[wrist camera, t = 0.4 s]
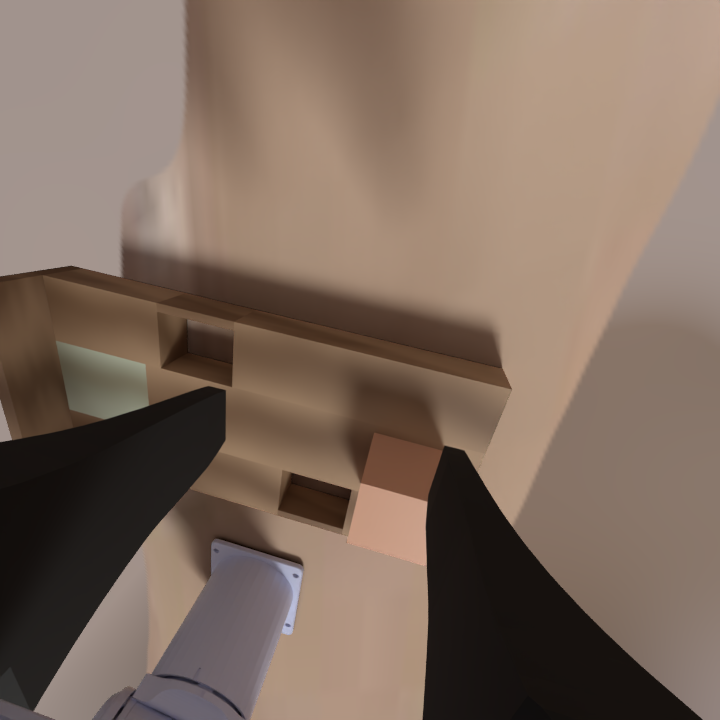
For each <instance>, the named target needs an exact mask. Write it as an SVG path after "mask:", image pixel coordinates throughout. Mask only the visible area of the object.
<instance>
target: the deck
mask: <svg viewBox="0 0 720 720" xmlns="http://www.w3.org/2000/svg"><path fill="white" fill-rule="evenodd" d="M187 319H189V320H193V321H197V322H201V323H205V324H209V325H213V326H217V327H221V328H225V329H229V330H233V331H234V341H233V364H229V363H226V362H222V361H218V360H214V359H210V358H206V357H202V356H198V355H194V354H191V353H188V345H187ZM206 386H211V387H215V388H219V389H223V390H226V441H225V442H224V444H223V445H222V447H221V449H220V450H219V452H218V453H217V455H216V456H215V458H214V459H213V461H212V462H211V463H210V465H209V466H208V467H207V469H206V470H205V471H204V472H203V473H202V474H201V476H200V477H199V478H198V479H197V480H196V481H195V483H194V484H193V485H192V486H191V487H190V488H189V489H191V490H194V491H197V492H201V493H204V494H208V495H211V496H214V497H218V498H221V499H224V500H228V501H231V502H234V503H238V504H241V505H244V506H248V507H251V508H254V509H258V510H261V511H264V512H268V513H271V514H275V515H278V516H281V517H285V518H288V519H291V520H295V521H298V522H301V523H305V524H308V525H311V526H315V527H318V528H321V529H325V530H328V531H331V532H335V533H338V534H341V535H345V536H348V535H349V531H350V526H351V522H352V518H353V514H354V510H355V505H356V501H357V497H358V493H359V489H360V484H361V481H362V477H363V473H364V469H365V465H366V462H367V458H368V454H369V450H370V446H371V442H372V439H373V435H374V433H378V434H382V435H386V436H389V437H393V438H397V439H401V440H404V441H408V442H412V443H416V444H420V445H423V446H427V447H431V448H435V449H438V450H442V451H443V448H444V445H445V446H449V447H453V448H457V449H461V450H465V452H466V454H467V455H468V457H469V459H470V460H471V462H472V464H473V466H474V467H475V469H476V471H477V472H478V470H479V468H480V465H481V463H482V460H483V458H484V456H485V453H486V451H487V448H488V446H489V444H490V441H491V439H492V436H493V434H494V432H495V429H496V427H497V424H498V422H499V420H500V417H501V415H502V412H503V410H504V408H505V405H506V403H507V400H508V398H509V396H510V393H511V391H512V388H511V386H510V384H509V382H508V380H507V377H506V375H505V373H504V371H503V369H502V368H498V367H493V366H489V365H485V364H481V363H477V362H472V361H468V360H464V359H460V358H456V357H452V356H447V355H443V354H439V353H435V352H431V351H426V350H422V349H418V348H414V347H410V346H405V345H401V344H397V343H393V342H389V341H385V340H380V339H376V338H372V337H368V336H364V335H359V334H355V333H351V332H347V331H343V330H338V329H334V328H330V327H326V326H322V325H317V324H313V323H309V322H305V321H301V320H297V319H292V318H288V317H284V316H280V315H276V314H271V313H267V312H263V311H259V310H255V309H250V308H246V307H242V306H238V305H234V304H229V303H225V302H221V301H217V300H213V299H209V298H204V297H200V296H196V295H192V294H188V293H183V292H179V291H175V290H171V289H167V288H162V287H158V286H154V285H150V284H146V283H142V282H137V281H133V280H129V279H125V278H121V277H116V276H112V275H107V274H104V273H99V272H95V271H91V270H87V269H83V268H79V267H74V266H68V267H60V268H54V269H47V270H40V271H34V272H27V273H20V274H14V275H7V276H1V277H0V400H1V403H2V407H3V410H4V414H5V417H6V420H7V423H8V427H9V431H10V434H11V437H12V440H16V439H21V438H26V437H32V436H37V435H42V434H48V433H53V432H57V431H62V430H66V429H70V428H74V427H79V426H83V425H87V424H90V423H94V422H98V421H101V420H105V419H108V418H112V417H115V416H118V415H121V414H124V413H128V412H131V411H134V410H137V409H140V408H144V407H147V406H149V405H152V404H155V403H158V402H161V401H164V400H167V399H170V398H173V397H175V396H178V395H181V394H184V393H187V392H190V391H193V390H196V389H199V388H203V387H206ZM293 473H295V474H298V475H302V476H305V477H309V478H313V479H316V480H320V481H323V482H327V483H330V484H334V485H337V486H341V487H344V488H348V489H351V490H352V492H351V496H350V500H347V499H343V498H340V497H336V496H333V495H330V494H326V493H323V492H319V491H316V490H312V489H309V488H305V487H302V486H298V485H295V484H292V476H293Z"/></svg>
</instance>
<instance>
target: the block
mask: <svg viewBox="0 0 720 720" xmlns="http://www.w3.org/2000/svg"><path fill="white" fill-rule="evenodd" d="M441 454H442V450H438V449H435V448H431V447H427V446H423V445H420V444H416V443H412V442H408V441H404V440H401V439H397V438H393V437H389V436H386V435H382V434H378V433H374V435H373V439H372V442H371V446H370V450H369V454H368V458H367V462H366V465H365V469H364V473H363V477H362V481H361V484H360V489H359V493H358V497H357V501H356V505H355V510H354V514H353V518H352V522H351V526H350V531H349V535H348V539H347V543H350V544H353V545H356V546H360V547H363V548H366V549H370V550H373V551H376V552H379V553H383V554H386V555H389V556H393V557H396V558H399V559H403V560H406V561H409V562H413V563H416V564H419V565H423V566H426V563H427V555H426V513H427V502H428V494H429V491H430V488H431V485H432V482H433V479H434V476H435V473H436V470H437V467H438V464H439V461H440V458H441Z"/></svg>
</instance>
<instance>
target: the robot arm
mask: <svg viewBox="0 0 720 720" xmlns="http://www.w3.org/2000/svg"><path fill="white" fill-rule="evenodd" d="M225 441H226V390H223V389H219V388H215V387H211V386H206V387H203V388H199V389H196V390H193V391H190V392H187V393H184V394H181V395H178V396H175V397H173V398H170V399H167V400H164V401H161V402H158V403H155V404H152V405H149V406H147V407H144V408H140V409H137V410H134V411H131V412H128V413H124V414H121V415H118V416H115V417H112V418H108V419H105V420H101V421H98V422H94V423H90V424H87V425H83V426H79V427H74V428H70V429H66V430H62V431H57V432H53V433H48V434H42V435H37V436H32V437H26V438H21V439H16V440H10V441H5V442H0V720H55V719H52V718H49V717H47V716H44V715H41V714H39V713H36V712H33V711H34V709H35V707H36V706H37V704H38V702H39V701H40V699H41V697H42V696H43V694H44V692H45V691H46V689H47V687H48V686H49V684H50V682H51V681H52V679H53V678H54V676H55V674H56V673H57V671H58V669H59V668H60V666H61V664H62V663H63V661H64V659H65V658H66V656H67V655H68V653H69V651H70V650H71V648H72V647H73V645H74V643H75V642H76V640H77V639H78V637H79V636H80V634H81V633H82V631H83V629H84V628H85V627H86V625H87V623H88V622H89V620H90V619H91V617H92V616H93V614H94V612H95V611H96V609H97V608H98V607H99V605H100V604H101V602H102V601H103V599H104V598H105V596H106V595H107V593H108V592H109V590H110V589H111V587H112V586H113V585H114V583H115V582H116V580H117V579H118V577H119V576H120V574H121V573H122V572H123V570H124V569H125V567H126V566H127V564H128V563H129V562H130V560H131V559H132V558H133V556H134V555H135V553H136V552H137V551H138V549H139V548H140V547H141V545H142V544H143V543H144V541H145V540H146V538H147V537H148V536H149V534H150V533H151V532H152V531H153V530H154V528H155V527H156V526H157V525H158V523H159V522H160V521H161V520H162V519H163V518H164V517H165V515H166V514H167V513H168V512H169V511H170V510H171V509H172V508H173V506H174V505H175V504H176V503H177V502H178V501H179V500H180V498H181V497H182V496H183V495H184V494H185V493H186V492H187V491H188V489H189V488H190V487H191V486H192V485H193V484H194V483H195V481H196V480H197V479H198V478H199V477H200V476H201V474H202V473H203V472H204V471H205V470H206V469H207V467H208V466H209V465H210V463H211V462H212V461H213V459H214V458H215V456H216V455H217V453H218V452H219V450H220V449H221V447H222V445H223V444H224V442H225ZM426 555H427V580H428V640H427V660H426V676H425V692H424V708H423V720H702V719H701V718H700V717H699V716H698V715H697V714H695V713H694V712H693V711H692V710H691V709H690V708H689V707H688V706H686V705H685V704H684V703H683V702H682V701H680V700H679V699H678V698H677V697H676V696H675V695H674V694H673V693H671V692H670V691H669V690H668V689H667V688H666V687H664V686H663V685H662V684H661V683H660V682H659V681H657V680H656V679H655V678H654V677H653V676H652V675H651V674H649V673H648V672H647V671H646V670H645V669H644V668H643V667H641V666H640V665H639V664H638V663H637V662H636V661H635V660H634V659H633V658H632V657H631V656H630V655H628V654H627V653H626V652H625V651H624V650H623V649H622V648H621V647H620V646H619V645H618V644H617V643H616V642H615V641H614V640H613V639H612V638H610V636H608V635H607V634H606V633H605V632H604V631H603V630H602V629H601V628H600V627H599V626H598V625H597V624H596V623H595V622H594V621H593V620H592V619H591V618H590V617H589V616H588V615H587V614H586V613H585V612H584V611H583V610H582V609H581V608H580V607H579V605H577V604H576V602H575V601H574V600H573V599H572V598H571V597H570V596H569V595H568V594H567V593H566V592H565V590H563V588H562V587H561V586H560V585H559V584H558V583H557V582H556V581H555V579H554V578H553V577H552V576H551V575H550V574H549V573H548V572H547V570H546V569H545V568H544V567H543V566H542V564H540V562H539V561H538V560H537V558H536V557H535V556H534V555H533V553H532V552H531V551H530V550H529V549H528V547H527V546H526V545H525V544H524V542H523V541H522V540H521V538H520V537H519V536H518V534H517V533H516V532H515V530H514V529H513V527H512V526H511V524H510V523H509V522H508V520H507V519H506V517H505V516H504V515H503V513H502V512H501V510H500V509H499V507H498V505H497V504H496V502H495V501H494V499H493V498H492V496H491V494H490V493H489V491H488V490H487V488H486V486H485V485H484V483H483V481H482V480H481V478H480V476H479V474H478V473H477V471H476V469H475V467H474V466H473V464H472V462H471V460H470V459H469V457H468V455H467V454H466V452H465V450H461V449H457V448H453V447H449V446H445V445H444V448H443V451H442V454H441V458H440V461H439V464H438V467H437V470H436V473H435V476H434V479H433V482H432V485H431V488H430V491H429V494H428V502H427V513H426ZM303 570H304V569H303V567H302V566H301V565H300V564H297V563H294V562H291V561H288V560H285V559H281V558H278V557H275V556H272V555H269V554H265V553H262V552H259V551H256V550H252V549H249V548H246V547H243V546H240V545H236V544H233V543H230V542H227V541H224V540H220V539H214V540H213V542H212V544H211V577H210V578H209V580H208V582H207V583H206V585H205V587H204V588H203V590H202V592H201V593H200V595H199V596H198V598H197V600H196V601H195V603H194V605H193V606H192V608H191V610H190V611H189V613H188V615H187V616H186V618H185V620H184V621H183V623H182V624H181V626H180V628H179V629H178V631H177V633H176V634H175V636H174V638H173V639H172V641H171V643H170V644H169V646H168V648H167V649H166V651H165V652H164V654H163V656H162V657H161V659H160V661H159V662H158V664H157V666H156V667H155V669H154V671H153V672H152V674H149V673H147V674H146V675H145V677H144V678H143V680H142V682H141V683H140V685H139V686H138V688H137V690H136V689H134V688H132V687H130V686H128V687H125V688H124V689H123V690H122V691H120V692H118V693H116V694H114V695H112V696H111V697H110V698H109V699H108V700H107V701H106V702H105V703H104V705H103V706H102V707H101V708H100V710H99V711H98V712H97V714H96V715H95V716H94V718H93V719H92V720H250V718H251V716H252V713H253V710H254V707H255V705H256V702H257V699H258V696H259V693H260V691H261V688H262V685H263V682H264V679H265V677H266V674H267V671H268V668H269V665H270V663H271V660H272V657H273V654H274V652H275V649H276V646H277V643H278V640H279V638H280V635H281V633H284V634H287V635H290V634H292V632H293V629H294V623H295V617H296V611H297V605H298V600H299V594H300V588H301V582H302V576H303Z"/></svg>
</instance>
